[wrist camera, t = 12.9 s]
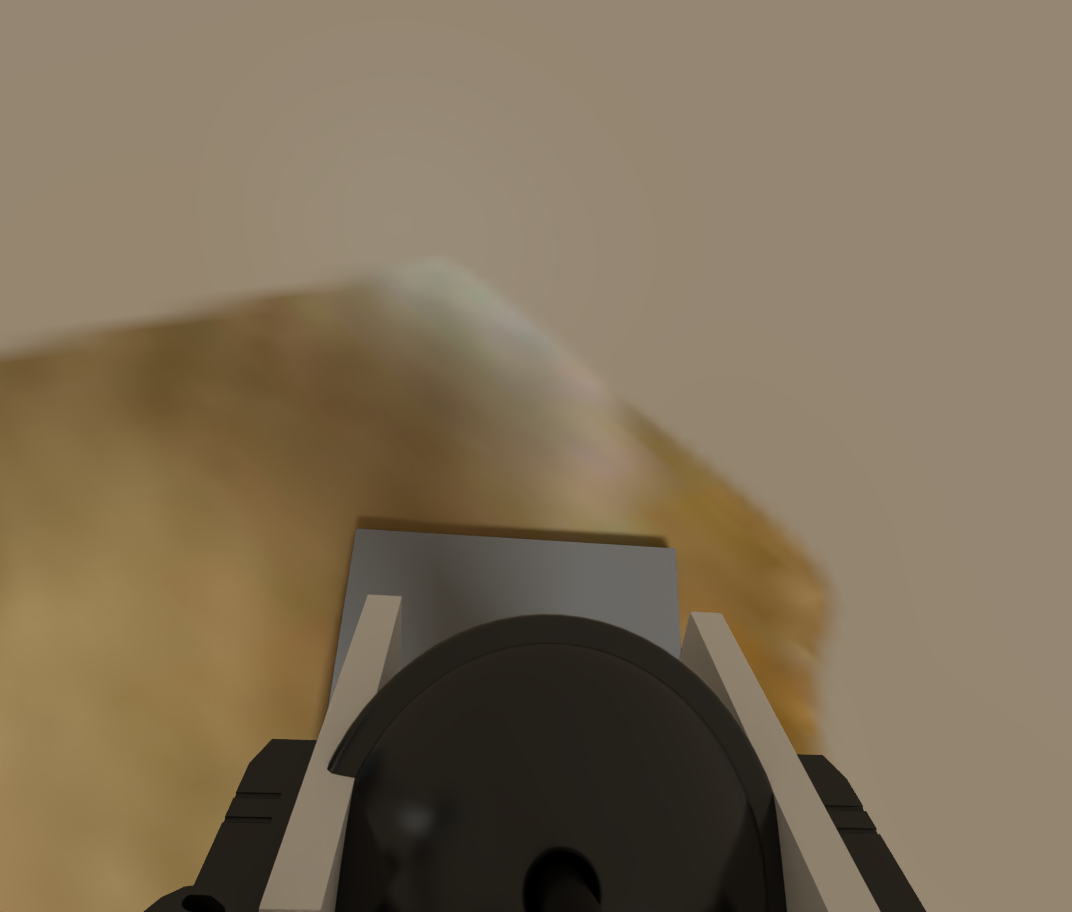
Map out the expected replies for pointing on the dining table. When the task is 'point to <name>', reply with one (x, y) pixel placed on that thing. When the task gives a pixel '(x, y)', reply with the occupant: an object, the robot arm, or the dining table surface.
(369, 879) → the drinking cup
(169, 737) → the dining table surface
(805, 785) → the robot arm
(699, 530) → the dining table surface
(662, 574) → the placemat
